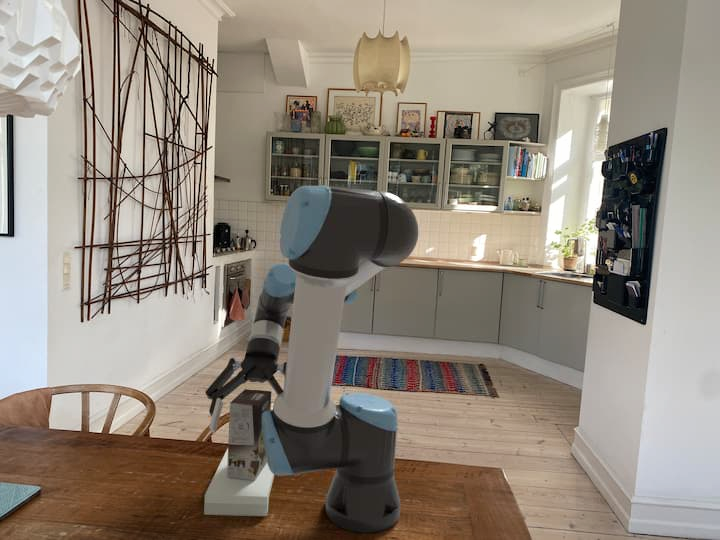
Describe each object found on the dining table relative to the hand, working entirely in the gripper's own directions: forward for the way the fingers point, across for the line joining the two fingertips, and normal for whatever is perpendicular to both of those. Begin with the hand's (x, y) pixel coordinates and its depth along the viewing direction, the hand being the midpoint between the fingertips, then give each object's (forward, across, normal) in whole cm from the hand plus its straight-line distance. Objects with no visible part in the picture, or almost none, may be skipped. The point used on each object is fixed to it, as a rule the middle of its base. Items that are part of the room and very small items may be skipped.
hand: (244, 432), depth 100 cm
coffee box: (+5, 0, -9) cm, 10 cm away
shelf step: (+8, 0, -11) cm, 13 cm away
